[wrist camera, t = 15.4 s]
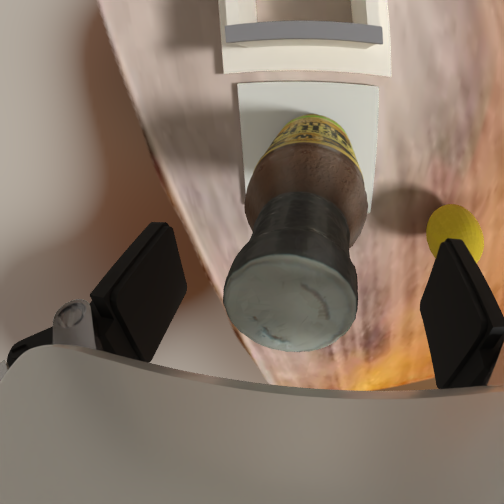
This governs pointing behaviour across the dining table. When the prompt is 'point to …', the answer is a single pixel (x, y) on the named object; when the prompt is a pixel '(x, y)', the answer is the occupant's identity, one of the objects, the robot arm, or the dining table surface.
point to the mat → (309, 102)
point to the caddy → (306, 41)
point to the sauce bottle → (300, 240)
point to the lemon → (454, 229)
